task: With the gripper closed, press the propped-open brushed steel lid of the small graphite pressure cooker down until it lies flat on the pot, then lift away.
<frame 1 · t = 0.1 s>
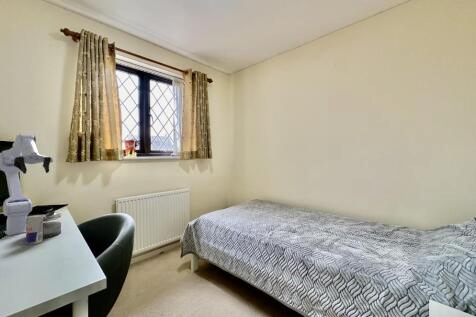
hand: (36, 171, 97), 32 cm above the table, tool tilted 50°, fingers open, 7 cm apart
energy drink: (34, 243, 97), on the table
cooker pot: (44, 235, 107), on the table
cooker lid: (45, 217, 107), point 9 cm above the table, hinge at 22.0°
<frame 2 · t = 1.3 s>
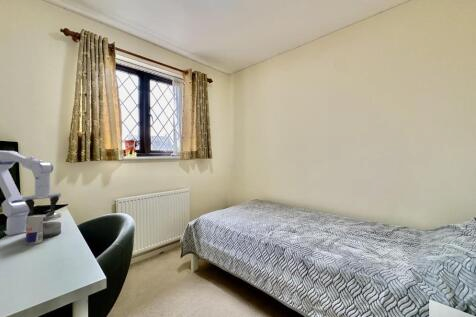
hand: (42, 213, 110), 10 cm above the table, tool pointing down, fingers open, 7 cm apart
nothing on the table moved.
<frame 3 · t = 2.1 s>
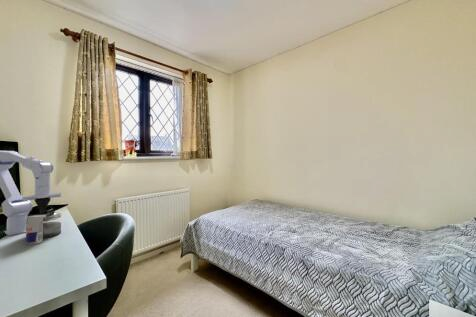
hand: (42, 213, 110), 10 cm above the table, tool pointing down, fingers closed
nothing on the table moved.
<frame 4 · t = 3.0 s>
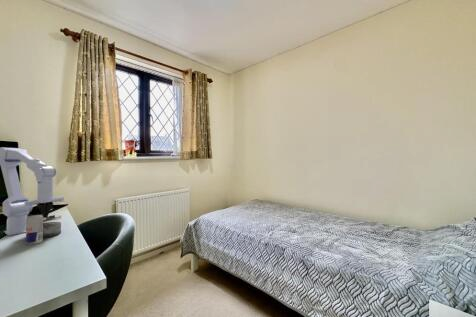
hand: (45, 218, 107), 9 cm above the table, tool pointing down, fingers closed, pressing on cooker lid
cooker lid: (45, 219, 107), point 8 cm above the table, hinge at 15.7°, touching gripper
everything else where it was.
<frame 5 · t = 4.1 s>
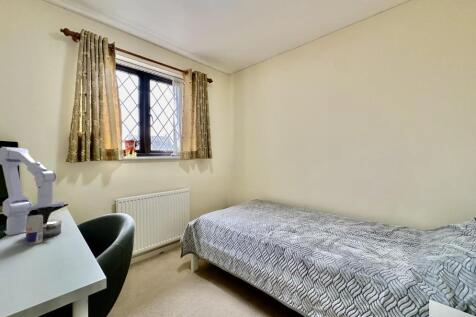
hand: (44, 222, 107), 6 cm above the table, tool pointing down, fingers closed, pressing on cooker lid
cooker lid: (45, 224, 106), point 6 cm above the table, hinge at -0.1°, touching gripper
everything else where it was.
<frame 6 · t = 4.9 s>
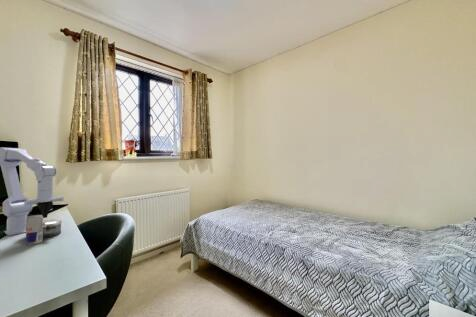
hand: (44, 217, 107), 9 cm above the table, tool pointing down, fingers closed
cooker lid: (45, 224, 106), point 6 cm above the table, hinge at -0.1°
everything else where it was.
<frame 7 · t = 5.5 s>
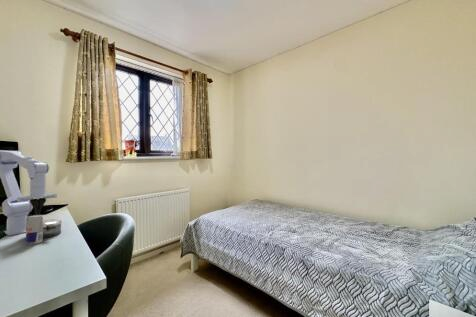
hand: (37, 214, 107), 10 cm above the table, tool pointing down, fingers closed
nothing on the table moved.
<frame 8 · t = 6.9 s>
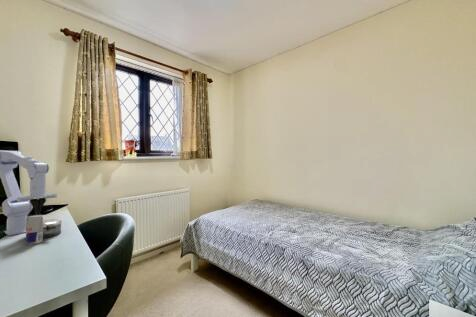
hand: (37, 214, 107), 10 cm above the table, tool pointing down, fingers closed
nothing on the table moved.
at the end: cooker lid at +0° (first picture: +22°); energy drink moved 0.2 cm from its start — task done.
